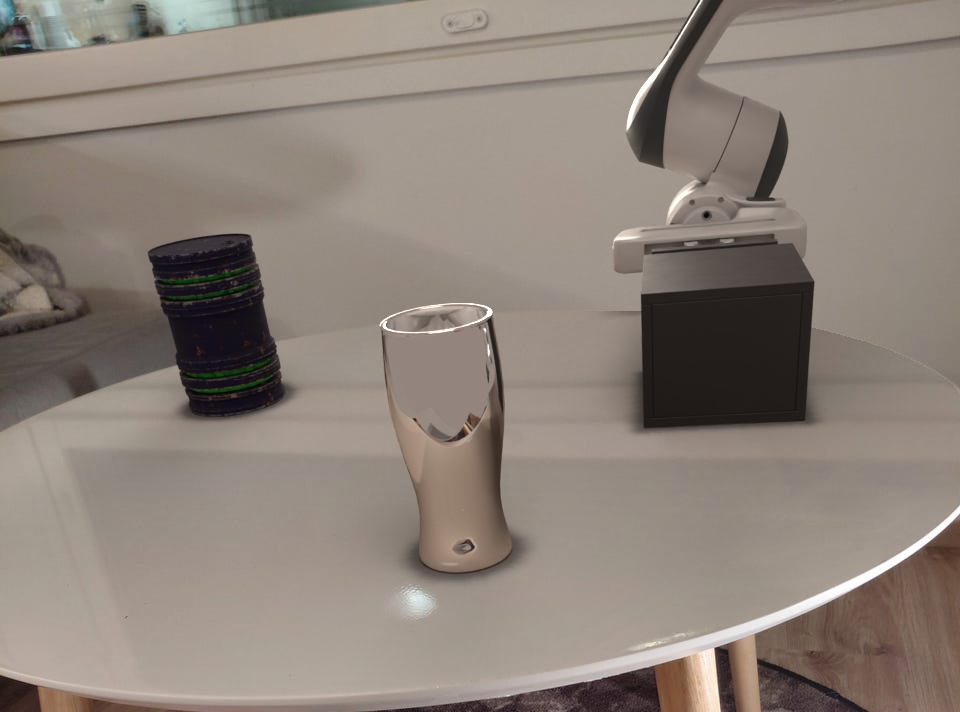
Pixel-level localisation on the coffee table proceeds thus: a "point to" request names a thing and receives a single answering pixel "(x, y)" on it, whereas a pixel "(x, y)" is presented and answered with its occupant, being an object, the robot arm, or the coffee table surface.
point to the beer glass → (450, 429)
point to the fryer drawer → (715, 246)
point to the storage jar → (218, 323)
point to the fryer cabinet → (725, 336)
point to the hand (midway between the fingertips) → (710, 259)
